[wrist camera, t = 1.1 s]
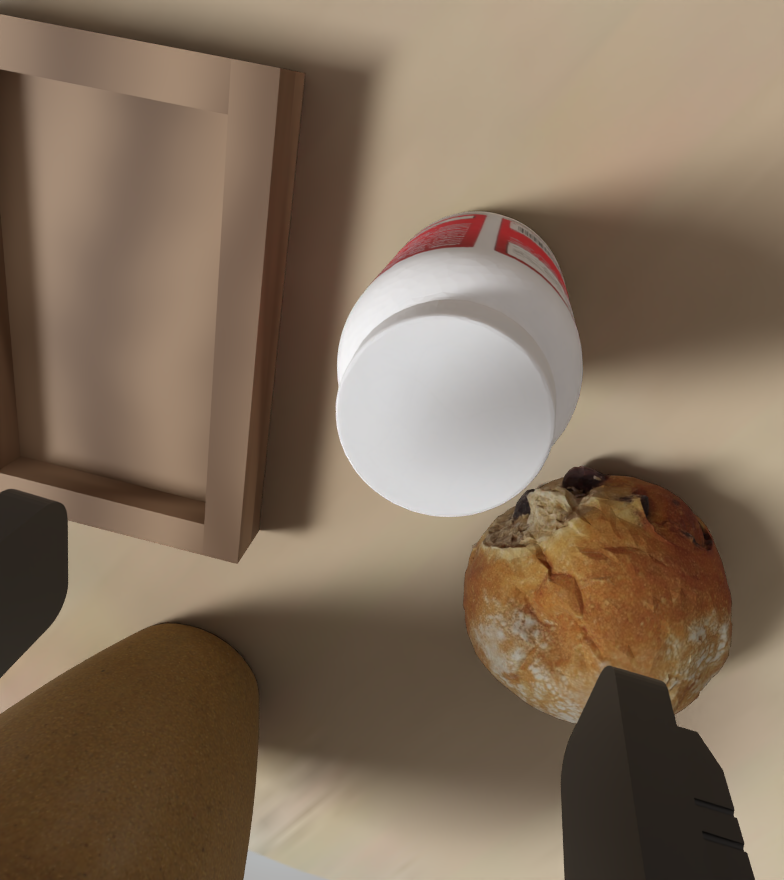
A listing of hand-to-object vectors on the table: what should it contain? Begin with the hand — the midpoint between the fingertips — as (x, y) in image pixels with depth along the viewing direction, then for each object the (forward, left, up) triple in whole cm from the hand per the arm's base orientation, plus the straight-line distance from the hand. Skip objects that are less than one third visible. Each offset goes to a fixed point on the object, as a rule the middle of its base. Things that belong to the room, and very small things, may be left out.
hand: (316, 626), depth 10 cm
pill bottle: (-1, -1, -17) cm, 17 cm away
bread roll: (-8, +9, -17) cm, 21 cm away
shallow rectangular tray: (+12, +2, -17) cm, 21 cm away
